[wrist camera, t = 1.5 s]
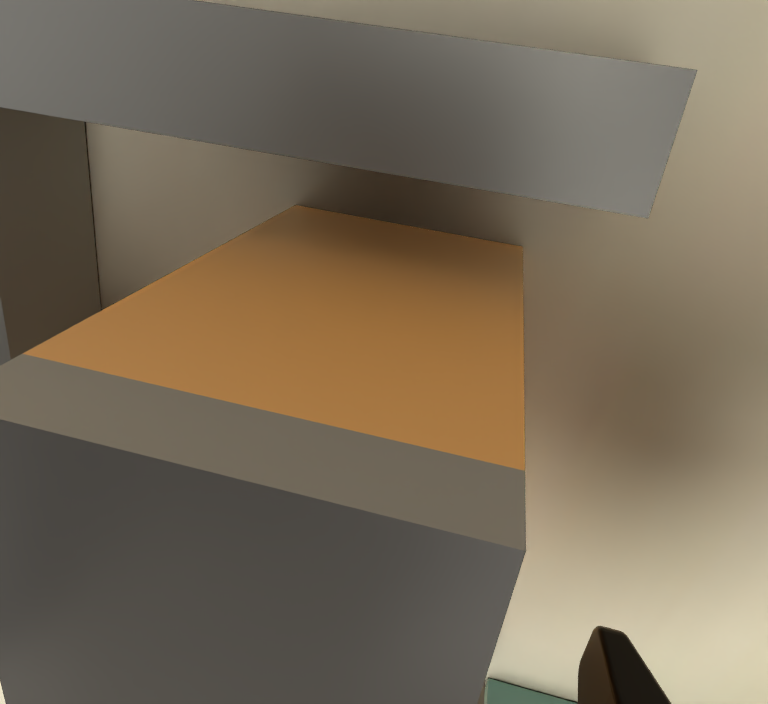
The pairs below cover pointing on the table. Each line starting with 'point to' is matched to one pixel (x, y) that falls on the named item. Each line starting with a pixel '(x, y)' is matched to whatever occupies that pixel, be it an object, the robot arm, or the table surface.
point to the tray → (516, 695)
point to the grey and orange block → (271, 476)
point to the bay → (297, 120)
